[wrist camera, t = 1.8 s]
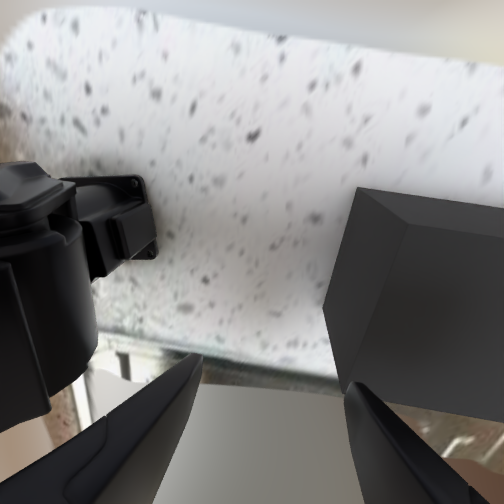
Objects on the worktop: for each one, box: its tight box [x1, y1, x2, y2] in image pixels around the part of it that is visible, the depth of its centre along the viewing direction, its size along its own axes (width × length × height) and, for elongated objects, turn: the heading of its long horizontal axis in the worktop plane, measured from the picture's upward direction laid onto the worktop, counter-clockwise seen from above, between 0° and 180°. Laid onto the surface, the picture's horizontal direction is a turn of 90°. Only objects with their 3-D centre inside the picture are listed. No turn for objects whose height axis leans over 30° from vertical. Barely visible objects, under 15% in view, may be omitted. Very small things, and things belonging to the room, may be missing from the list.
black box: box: [323, 187, 504, 423], centre depth 16 cm, size 11×10×8 cm
